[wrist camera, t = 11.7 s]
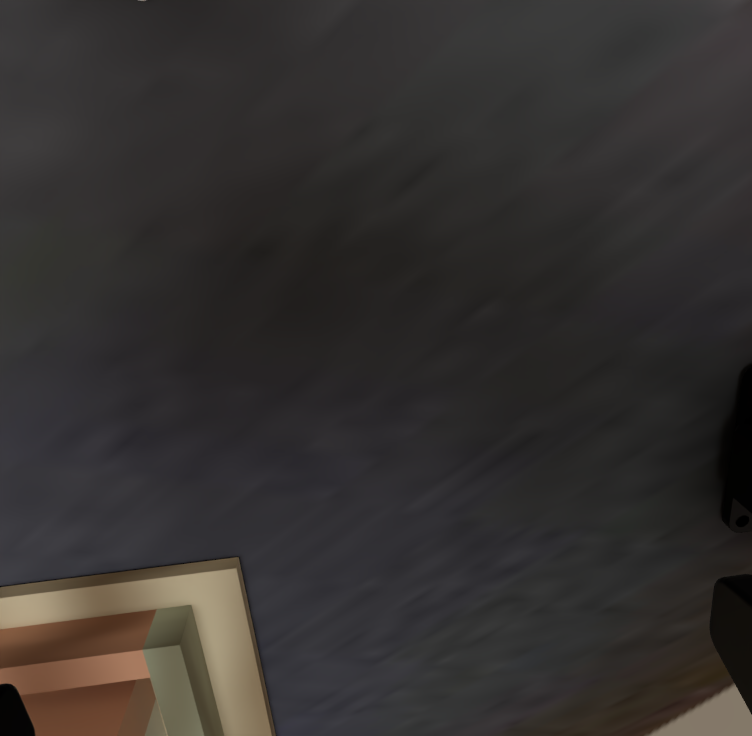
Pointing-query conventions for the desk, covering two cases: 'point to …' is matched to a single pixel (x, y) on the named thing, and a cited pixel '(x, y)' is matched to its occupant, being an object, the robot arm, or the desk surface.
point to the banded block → (97, 710)
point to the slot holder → (144, 642)
